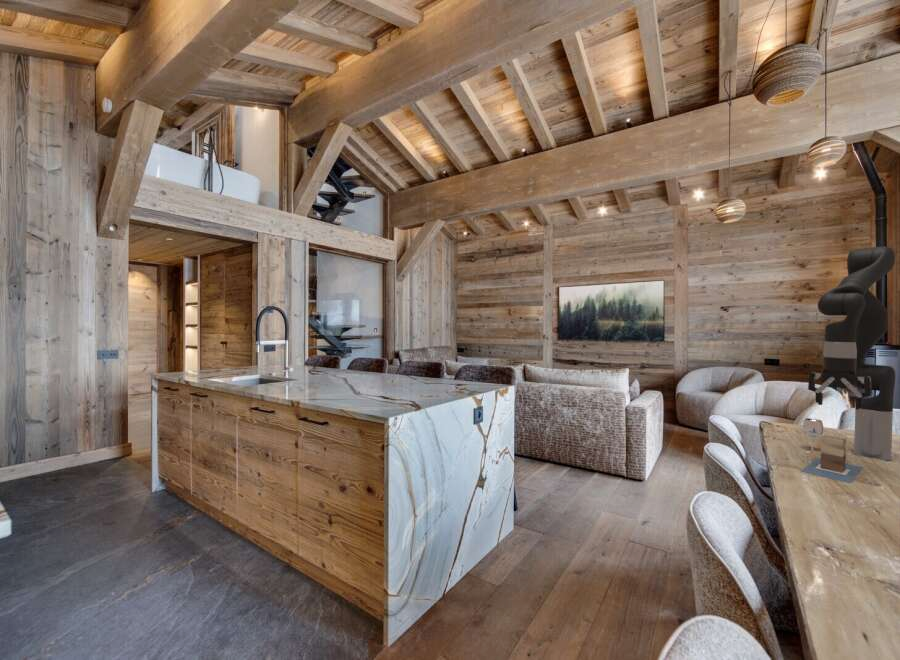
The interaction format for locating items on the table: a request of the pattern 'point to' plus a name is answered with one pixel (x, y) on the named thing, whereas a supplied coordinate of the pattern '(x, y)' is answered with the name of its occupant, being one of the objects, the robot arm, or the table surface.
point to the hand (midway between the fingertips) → (838, 406)
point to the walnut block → (833, 462)
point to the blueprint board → (845, 476)
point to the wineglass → (813, 428)
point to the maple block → (833, 445)
